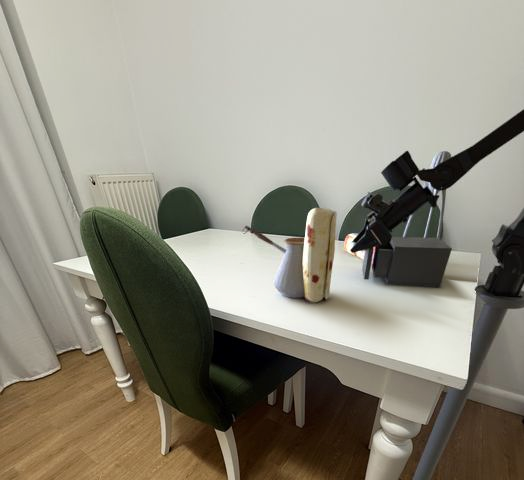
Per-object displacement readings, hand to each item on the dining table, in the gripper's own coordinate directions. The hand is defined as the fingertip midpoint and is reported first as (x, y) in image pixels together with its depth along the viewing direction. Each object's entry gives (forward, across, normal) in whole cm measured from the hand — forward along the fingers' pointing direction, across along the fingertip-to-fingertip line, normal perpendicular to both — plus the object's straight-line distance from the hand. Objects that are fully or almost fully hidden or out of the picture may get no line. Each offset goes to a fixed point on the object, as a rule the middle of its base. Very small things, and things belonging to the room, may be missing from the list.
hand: (351, 248), depth 81 cm
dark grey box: (-7, 0, +17) cm, 18 cm away
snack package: (+2, -19, +10) cm, 22 cm away
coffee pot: (+18, +16, -6) cm, 25 cm away
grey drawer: (-1, +1, +10) cm, 10 cm away
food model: (+10, +21, +1) cm, 23 cm away
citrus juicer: (-11, -17, +21) cm, 29 cm away
